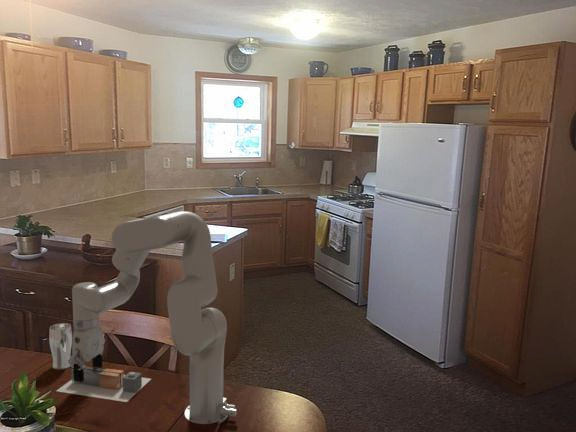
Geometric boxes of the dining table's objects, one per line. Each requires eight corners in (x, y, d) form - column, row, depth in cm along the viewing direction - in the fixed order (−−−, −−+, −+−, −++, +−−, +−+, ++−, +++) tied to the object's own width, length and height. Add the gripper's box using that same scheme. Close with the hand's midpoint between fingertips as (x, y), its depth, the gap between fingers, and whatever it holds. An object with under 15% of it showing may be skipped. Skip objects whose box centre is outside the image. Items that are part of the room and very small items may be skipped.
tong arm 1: (120, 386, 154) (119, 373, 153) (116, 389, 152) (116, 376, 151) (75, 379, 158) (75, 367, 157) (71, 382, 156) (71, 369, 155)
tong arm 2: (124, 382, 156) (124, 370, 156) (121, 385, 154) (120, 373, 154) (79, 376, 159) (78, 364, 159) (75, 379, 158) (74, 367, 157)
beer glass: (64, 374, 164) (62, 331, 162) (46, 372, 165) (44, 329, 163) (77, 365, 171) (76, 324, 168) (59, 363, 172) (57, 322, 170)
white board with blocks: (151, 382, 160) (151, 364, 159) (126, 405, 146) (126, 386, 145) (85, 372, 165) (85, 355, 164) (55, 394, 151) (55, 375, 150)
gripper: (79, 333, 144) (82, 388, 147) (112, 314, 161) (114, 363, 164) (57, 331, 146) (60, 385, 149) (92, 312, 163) (94, 361, 165)
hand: (88, 373), depth 156 cm, fingers open, 9 cm apart
